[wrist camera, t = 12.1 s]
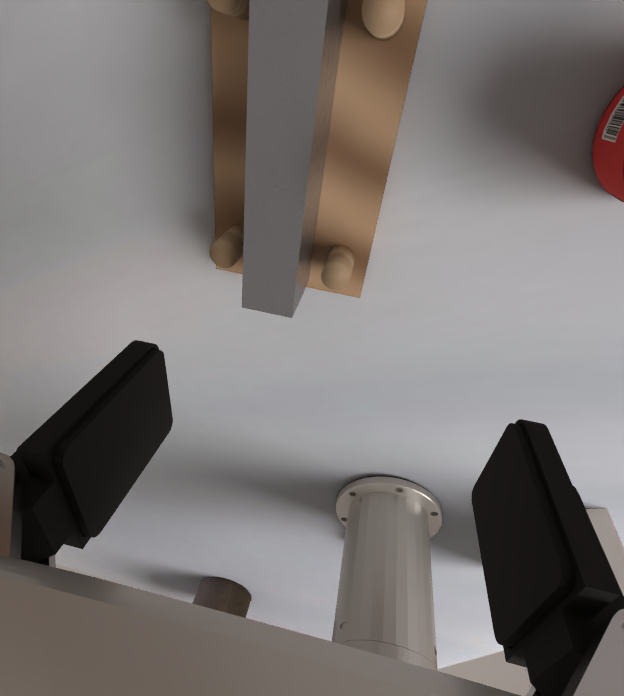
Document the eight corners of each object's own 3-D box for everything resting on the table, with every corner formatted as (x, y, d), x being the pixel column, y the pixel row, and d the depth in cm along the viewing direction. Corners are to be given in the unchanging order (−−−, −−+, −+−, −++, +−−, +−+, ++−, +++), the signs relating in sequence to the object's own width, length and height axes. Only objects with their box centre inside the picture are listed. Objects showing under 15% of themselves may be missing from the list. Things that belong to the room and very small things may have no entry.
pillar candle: (254, 587, 68) (221, 697, 55) (248, 609, 73) (217, 713, 61) (201, 570, 68) (156, 676, 56) (200, 593, 74) (159, 694, 62)
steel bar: (286, -39, 21) (251, -74, 16) (351, -30, 20) (335, -62, 16) (266, 271, 31) (242, 307, 26) (309, 280, 31) (291, 317, 26)
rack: (361, 291, 32) (355, 320, 28) (221, 263, 33) (198, 287, 29) (437, -49, 20) (446, -78, 16) (217, -78, 21) (177, -112, 17)
